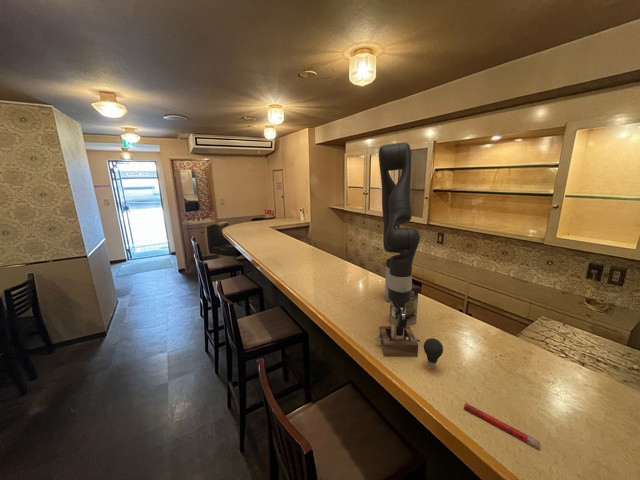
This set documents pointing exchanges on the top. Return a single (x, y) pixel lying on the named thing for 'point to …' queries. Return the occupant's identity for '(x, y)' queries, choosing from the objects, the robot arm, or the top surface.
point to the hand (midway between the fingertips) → (397, 330)
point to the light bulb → (433, 351)
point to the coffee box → (410, 306)
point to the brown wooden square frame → (398, 343)
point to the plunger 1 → (381, 339)
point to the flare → (503, 426)
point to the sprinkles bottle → (393, 329)
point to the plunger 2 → (409, 339)
